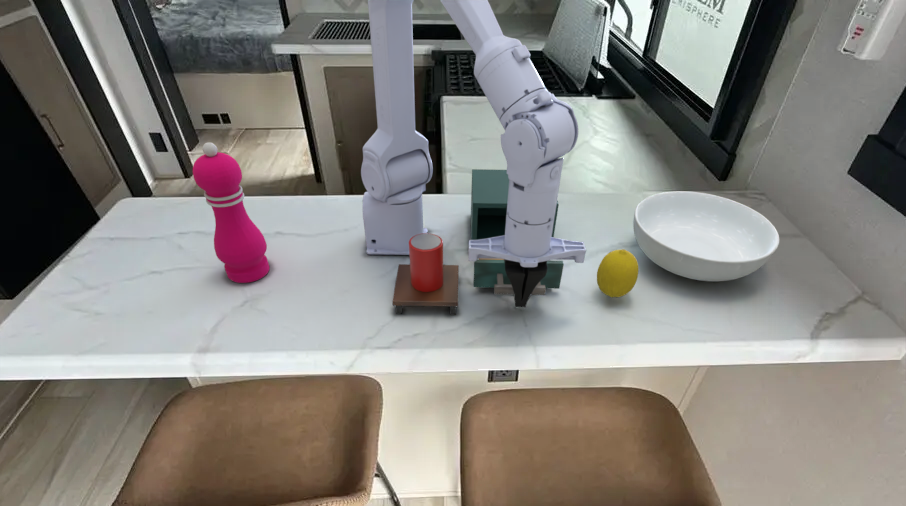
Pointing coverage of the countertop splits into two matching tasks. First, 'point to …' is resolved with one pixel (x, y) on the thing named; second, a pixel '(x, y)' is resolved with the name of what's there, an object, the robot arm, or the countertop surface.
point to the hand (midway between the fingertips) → (520, 302)
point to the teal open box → (490, 203)
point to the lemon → (617, 273)
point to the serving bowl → (703, 235)
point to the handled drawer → (495, 277)
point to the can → (426, 262)
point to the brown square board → (413, 297)
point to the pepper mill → (231, 216)
